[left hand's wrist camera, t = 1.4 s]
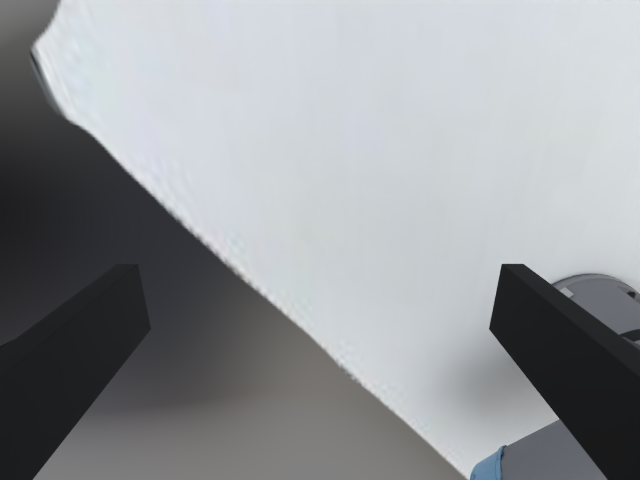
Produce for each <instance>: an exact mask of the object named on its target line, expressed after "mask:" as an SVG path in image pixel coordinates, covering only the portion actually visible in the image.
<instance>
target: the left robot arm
mask: <svg viewBox="0 0 640 480" xmlns="http://www.w3.org/2000/svg"><path fill="white" fill-rule="evenodd" d="M150 329H151V327H150V322H149V317H148V312H147V307H146V302H145V297H144V292H143V287H142V281H141V276H140V271H139V266H138V264H116V265H115V266H113V267H112V268H111V269H109V270H108V271H107V272H105V273H104V274H103V275H101V276H100V277H98V278H97V279H96V280H94V281H93V282H92V283H90V284H89V285H88V286H86V287H85V288H84V289H82V290H81V291H80V292H78V293H77V294H75V295H74V296H73V297H71V298H70V299H69V300H67V301H66V302H65V303H63V304H62V305H61V306H59V307H58V308H57V309H55V310H54V311H53V312H51V313H50V314H48V315H47V316H46V317H44V318H43V319H42V320H40V321H39V322H38V323H36V324H35V325H34V326H32V327H31V328H30V329H28V330H27V331H25V332H24V333H23V334H21V335H20V336H19V337H17V338H16V339H14V340H12V341H10V342H8V343H6V344H4V345H2V346H0V480H33V478H34V477H35V476H36V475H37V473H38V472H39V471H40V469H41V468H42V467H43V466H44V464H45V463H46V462H47V461H48V459H49V458H50V457H51V455H52V454H53V453H54V452H55V450H56V449H57V448H58V447H59V445H60V444H61V443H62V441H63V440H64V439H65V438H66V436H67V435H68V434H69V433H70V431H71V430H72V429H73V427H74V426H75V425H76V424H77V422H78V421H79V420H80V419H81V417H82V416H83V415H84V413H85V412H86V411H87V410H88V408H89V407H90V406H91V404H92V403H93V402H94V401H95V399H96V398H97V397H98V396H99V394H100V393H101V392H102V391H103V389H104V388H105V387H106V385H107V384H108V383H109V382H110V380H111V379H112V378H113V377H114V375H115V374H116V373H117V371H118V370H119V369H120V368H121V366H122V365H123V364H124V363H125V361H126V360H127V359H128V357H129V356H130V355H131V354H132V352H133V351H134V350H135V349H136V347H137V346H138V345H139V344H140V342H141V341H142V340H143V338H144V337H145V336H146V335H147V333H148V332H149V331H150ZM489 330H490V331H491V332H492V333H493V335H494V336H495V337H496V338H497V340H498V341H499V342H500V344H501V345H502V346H503V347H504V349H505V350H506V351H507V352H508V354H509V355H510V356H511V358H512V359H513V360H514V361H515V363H516V364H517V365H518V366H519V368H520V369H521V370H522V371H523V373H524V374H525V375H526V377H527V378H528V379H529V380H530V382H531V383H532V384H533V385H534V387H535V388H536V389H537V391H538V392H539V393H540V394H541V396H542V397H543V398H544V399H545V401H546V402H547V403H548V405H549V406H550V407H551V408H552V410H553V411H554V412H555V413H556V415H557V416H558V417H559V420H557V421H556V422H554V423H552V424H550V425H548V426H546V427H544V428H542V429H540V430H538V431H536V432H534V433H532V434H530V435H528V436H526V437H524V438H522V439H521V440H519V441H517V442H515V443H513V444H511V445H509V446H506V445H504V446H502V447H500V448H499V450H498V451H497V452H496V453H494V454H492V455H491V456H489V457H487V458H486V459H484V460H483V461H481V462H479V463H478V464H477V465H476V466H475V467H474V469H473V470H472V473H471V477H470V480H640V294H639V293H638V292H637V291H635V290H634V289H633V288H632V287H630V286H628V285H627V284H625V283H623V282H621V281H619V280H618V279H615V278H613V277H610V276H606V275H599V274H586V275H578V276H574V277H570V278H567V279H564V280H562V281H559V282H557V283H555V284H553V285H551V284H550V283H548V282H547V281H546V280H544V279H543V278H541V277H540V276H539V275H537V274H536V273H535V272H533V271H532V270H531V269H529V268H528V267H527V266H525V265H524V264H502V266H501V271H500V276H499V281H498V287H497V292H496V297H495V302H494V307H493V312H492V317H491V322H490V327H489Z"/></svg>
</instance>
